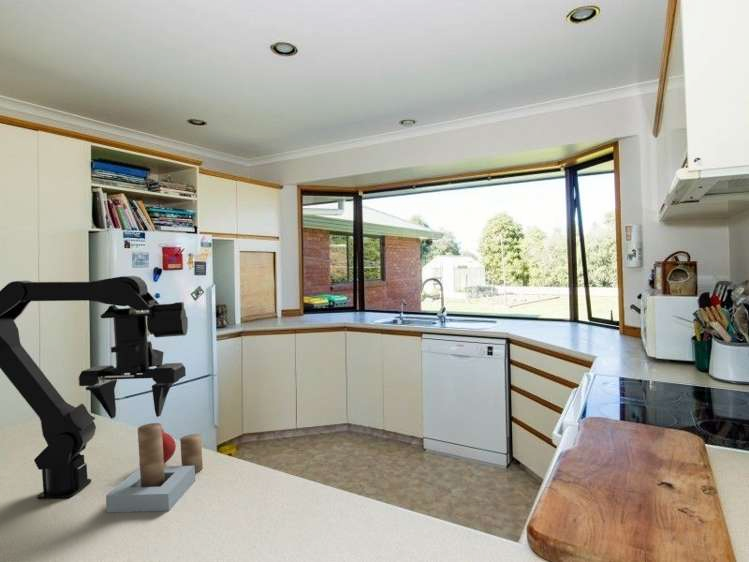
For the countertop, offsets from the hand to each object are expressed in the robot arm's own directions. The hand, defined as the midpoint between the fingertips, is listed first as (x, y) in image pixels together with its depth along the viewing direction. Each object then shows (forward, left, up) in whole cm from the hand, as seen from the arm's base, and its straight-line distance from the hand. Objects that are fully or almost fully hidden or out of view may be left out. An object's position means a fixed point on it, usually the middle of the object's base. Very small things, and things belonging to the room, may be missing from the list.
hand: (135, 416), depth 90 cm
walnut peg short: (+9, +4, -13) cm, 16 cm away
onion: (+1, +7, -13) cm, 15 cm away
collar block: (+6, -6, -13) cm, 16 cm away
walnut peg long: (+6, -6, -13) cm, 15 cm away
